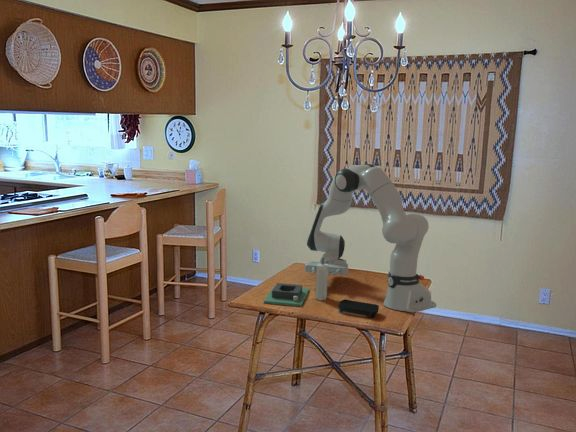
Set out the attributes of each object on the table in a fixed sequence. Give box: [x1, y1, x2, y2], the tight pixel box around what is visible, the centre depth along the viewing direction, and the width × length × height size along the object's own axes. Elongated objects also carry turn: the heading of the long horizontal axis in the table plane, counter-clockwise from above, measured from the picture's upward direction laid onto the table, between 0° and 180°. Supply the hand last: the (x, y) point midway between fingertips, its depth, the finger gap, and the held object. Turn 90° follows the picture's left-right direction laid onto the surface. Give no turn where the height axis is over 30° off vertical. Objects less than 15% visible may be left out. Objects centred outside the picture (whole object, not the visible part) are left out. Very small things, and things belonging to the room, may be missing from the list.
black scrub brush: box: [337, 298, 380, 320], centre depth 212 cm, size 16×8×4 cm, turn 65°
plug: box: [315, 256, 329, 301], centre depth 227 cm, size 5×4×18 cm
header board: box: [263, 282, 310, 307], centre depth 229 cm, size 22×16×4 cm
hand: (324, 272), depth 236 cm, fingers open, 8 cm apart
